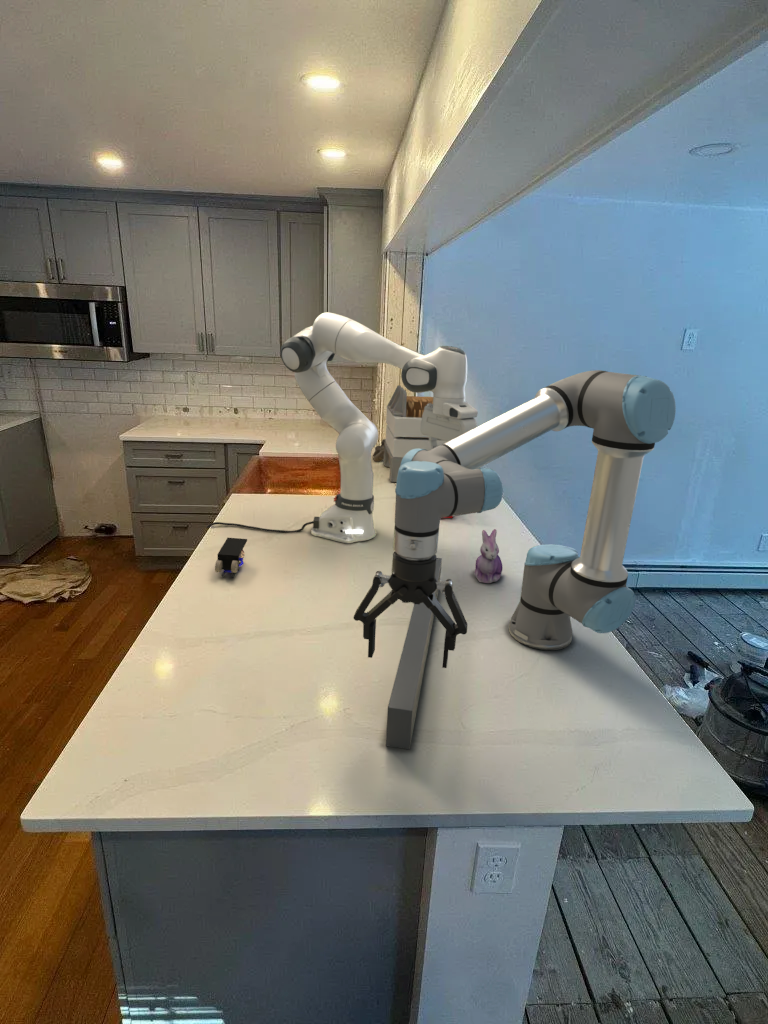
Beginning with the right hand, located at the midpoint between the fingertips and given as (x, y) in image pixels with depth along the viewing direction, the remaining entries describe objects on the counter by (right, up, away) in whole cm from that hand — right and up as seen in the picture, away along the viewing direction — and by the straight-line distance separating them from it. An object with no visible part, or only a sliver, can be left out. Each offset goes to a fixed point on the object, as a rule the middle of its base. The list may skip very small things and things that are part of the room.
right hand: (407, 658), depth 104 cm
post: (+4, -5, +30) cm, 30 cm away
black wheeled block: (-49, +10, +64) cm, 81 cm away
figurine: (+27, +7, +66) cm, 72 cm away
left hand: (+13, +43, +58) cm, 73 cm away
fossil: (-4, +56, +196) cm, 204 cm away
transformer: (+13, +46, +171) cm, 178 cm away
